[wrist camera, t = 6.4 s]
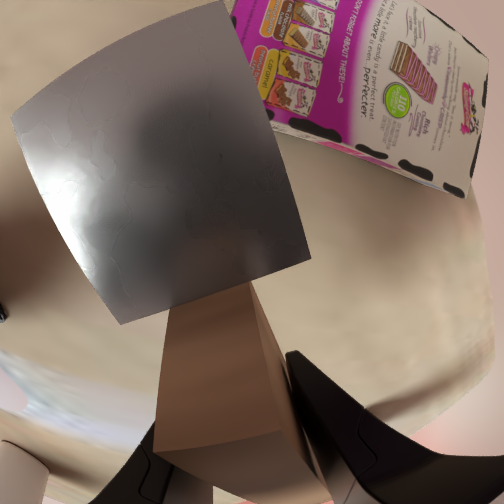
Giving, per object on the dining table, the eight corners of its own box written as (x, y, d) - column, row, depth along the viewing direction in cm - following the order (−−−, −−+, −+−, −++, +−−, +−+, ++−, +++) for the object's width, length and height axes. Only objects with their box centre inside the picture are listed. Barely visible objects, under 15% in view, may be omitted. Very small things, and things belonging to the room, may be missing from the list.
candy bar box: (205, 115, 16) (424, 189, 19) (198, 106, 11) (468, 205, 14) (253, -26, 12) (450, 65, 15) (262, -66, 7) (493, 59, 10)
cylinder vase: (29, 449, 30) (3, 548, 7) (60, 477, 35) (44, 564, 12) (-9, 433, 29) (-38, 518, 6) (21, 463, 34) (1, 540, 11)
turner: (342, 406, 13) (372, 485, 9) (235, 438, 13) (246, 518, 9) (221, 8, 5) (240, -128, 1) (21, 115, 5) (-119, 156, 1)
